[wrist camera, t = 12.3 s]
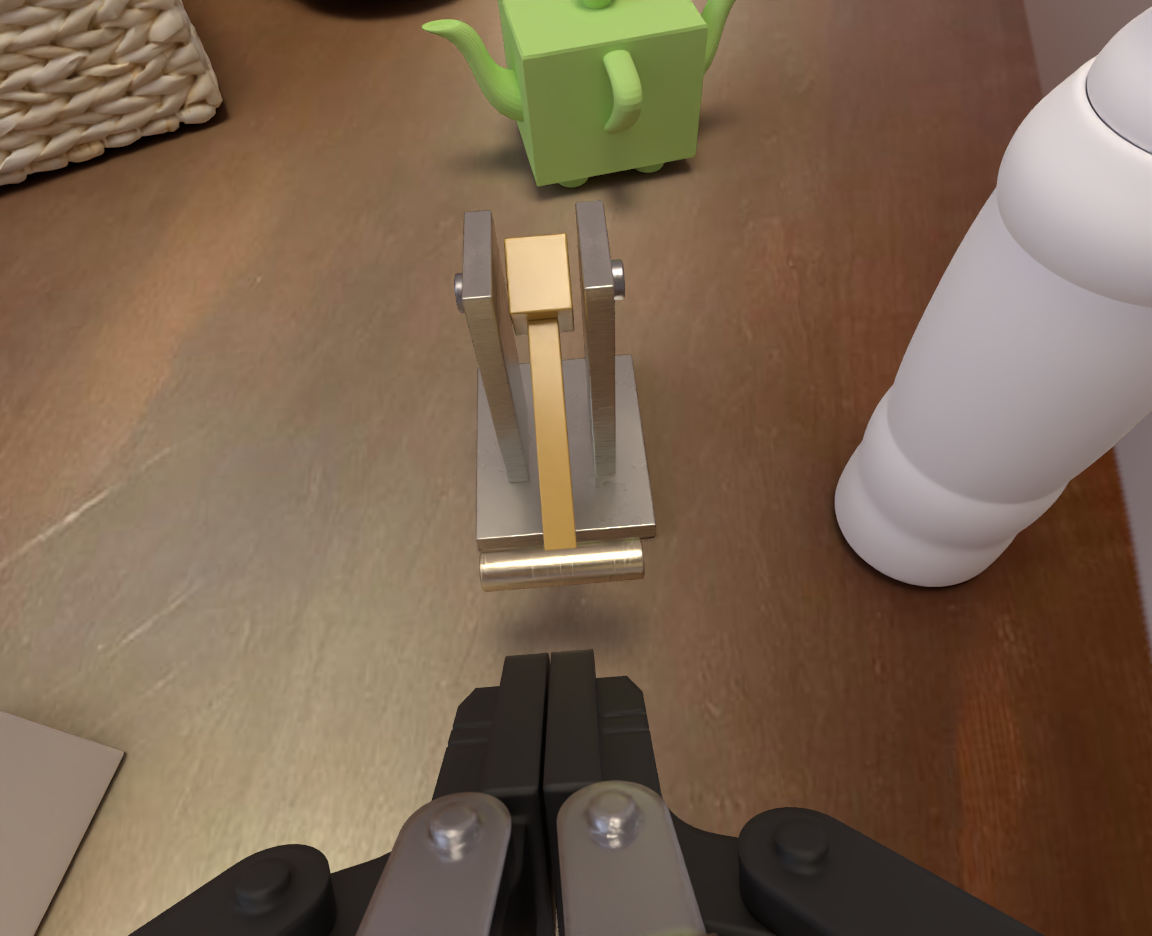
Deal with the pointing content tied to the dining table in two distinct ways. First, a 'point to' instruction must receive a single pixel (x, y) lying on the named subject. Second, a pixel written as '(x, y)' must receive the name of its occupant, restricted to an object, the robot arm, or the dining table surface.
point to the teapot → (597, 80)
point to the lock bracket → (592, 397)
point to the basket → (95, 79)
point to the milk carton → (43, 813)
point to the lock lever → (551, 434)
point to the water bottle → (1021, 338)
